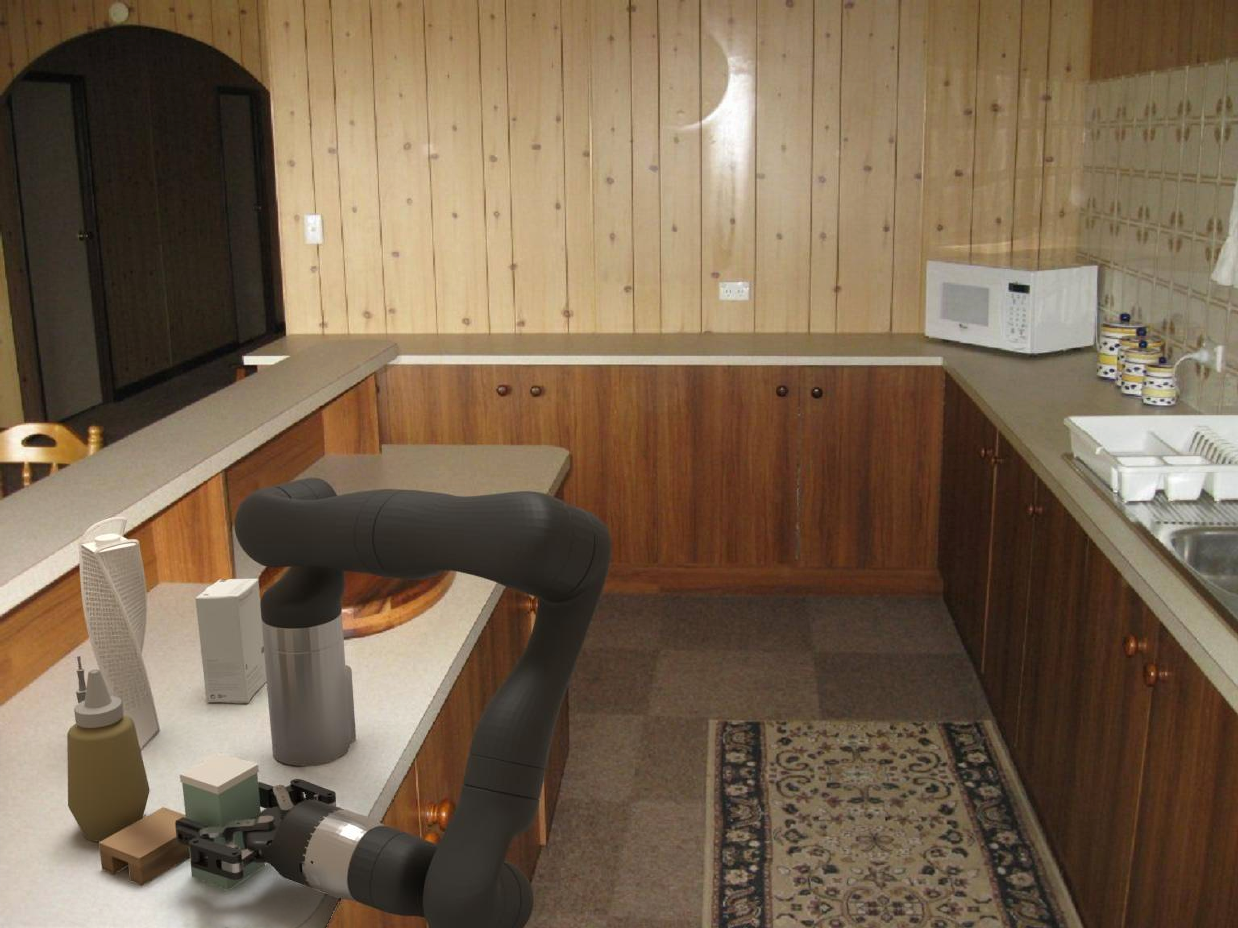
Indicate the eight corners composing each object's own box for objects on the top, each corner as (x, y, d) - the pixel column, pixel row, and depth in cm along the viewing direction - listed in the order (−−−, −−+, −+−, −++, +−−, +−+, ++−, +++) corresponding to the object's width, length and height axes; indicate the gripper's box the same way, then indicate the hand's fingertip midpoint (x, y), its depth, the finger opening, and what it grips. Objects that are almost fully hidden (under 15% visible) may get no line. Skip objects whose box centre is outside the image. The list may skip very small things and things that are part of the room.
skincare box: (248, 704, 163) (238, 597, 159) (203, 703, 163) (193, 596, 160) (269, 678, 171) (261, 576, 168) (227, 678, 171) (217, 575, 168)
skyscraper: (111, 726, 158) (86, 514, 151) (173, 727, 157) (151, 514, 151) (79, 757, 150) (52, 534, 143) (145, 758, 149) (120, 535, 143)
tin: (230, 851, 128) (220, 752, 125) (266, 865, 125) (258, 764, 123) (190, 876, 124) (179, 774, 121) (227, 891, 121) (217, 786, 118)
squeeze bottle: (72, 855, 128) (51, 693, 123) (71, 819, 135) (52, 664, 130) (155, 838, 131) (138, 679, 126) (150, 803, 138) (134, 651, 134)
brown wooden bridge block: (165, 832, 132) (163, 807, 131) (205, 847, 129) (203, 821, 128) (101, 869, 125) (98, 842, 124) (142, 885, 122) (139, 858, 121)
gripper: (383, 781, 121) (262, 745, 129) (276, 850, 109) (150, 805, 117) (387, 850, 123) (267, 810, 131) (283, 926, 111) (158, 876, 119)
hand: (212, 808), depth 124 cm, fingers open, 8 cm apart
